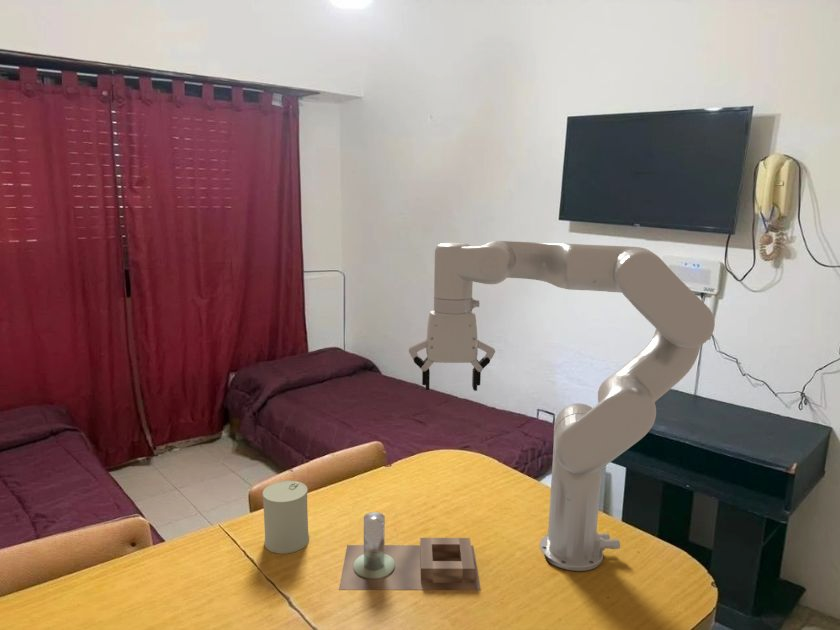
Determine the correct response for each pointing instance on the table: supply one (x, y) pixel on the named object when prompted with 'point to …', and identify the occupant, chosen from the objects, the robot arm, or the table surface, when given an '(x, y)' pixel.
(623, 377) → the robot arm
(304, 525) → the can
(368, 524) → the peg
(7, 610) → the table surface
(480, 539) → the table surface
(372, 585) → the pocket board
